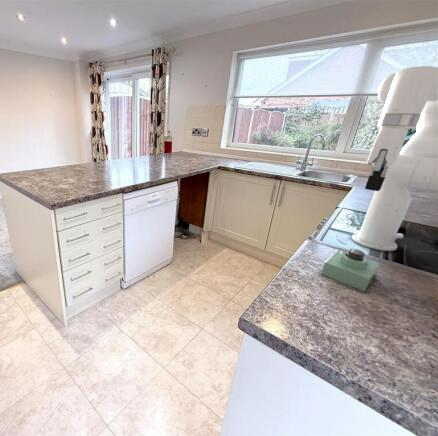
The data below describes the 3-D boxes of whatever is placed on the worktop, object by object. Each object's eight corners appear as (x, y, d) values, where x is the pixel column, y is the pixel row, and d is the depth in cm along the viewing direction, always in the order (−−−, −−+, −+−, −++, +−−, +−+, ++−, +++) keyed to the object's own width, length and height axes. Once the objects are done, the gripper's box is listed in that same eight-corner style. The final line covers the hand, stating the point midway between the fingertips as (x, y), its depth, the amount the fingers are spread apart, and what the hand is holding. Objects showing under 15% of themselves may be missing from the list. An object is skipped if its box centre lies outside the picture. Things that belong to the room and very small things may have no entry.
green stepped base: (334, 260, 79) (340, 243, 76) (374, 274, 71) (382, 257, 69) (321, 273, 71) (327, 256, 69) (364, 291, 64) (372, 272, 62)
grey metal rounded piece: (348, 253, 72) (350, 247, 71) (363, 258, 69) (366, 252, 68) (344, 257, 70) (347, 251, 69) (360, 262, 67) (363, 256, 66)
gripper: (384, 121, 71) (362, 183, 78) (372, 121, 62) (349, 191, 69) (421, 122, 66) (394, 188, 73) (414, 122, 57) (384, 197, 64)
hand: (372, 189), depth 71 cm, fingers closed
